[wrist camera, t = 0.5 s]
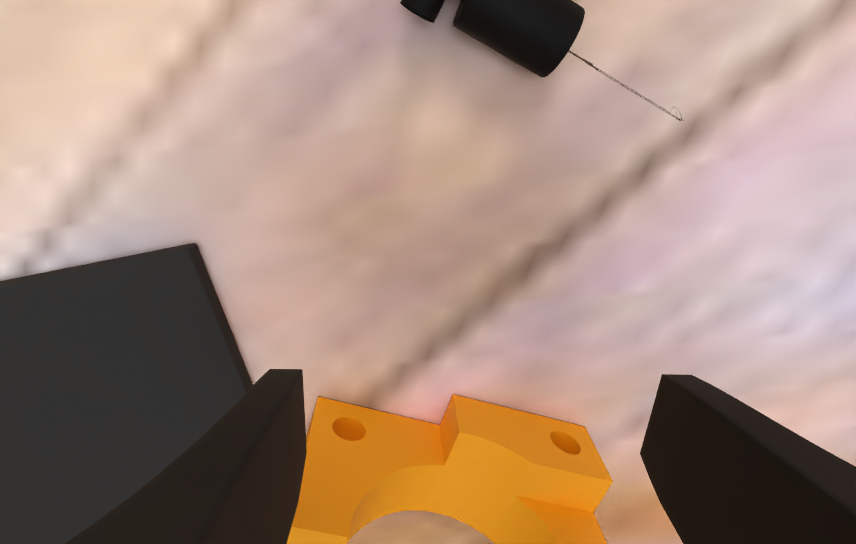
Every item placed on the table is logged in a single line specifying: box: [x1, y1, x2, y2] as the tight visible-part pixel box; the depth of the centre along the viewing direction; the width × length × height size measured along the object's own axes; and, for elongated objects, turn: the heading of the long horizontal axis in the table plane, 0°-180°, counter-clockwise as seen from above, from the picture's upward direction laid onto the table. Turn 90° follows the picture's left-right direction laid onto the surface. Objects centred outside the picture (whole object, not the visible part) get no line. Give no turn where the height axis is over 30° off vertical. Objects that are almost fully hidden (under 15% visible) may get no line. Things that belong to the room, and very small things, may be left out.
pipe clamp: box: [287, 394, 613, 544], centre depth 20 cm, size 12×4×6 cm, turn 71°
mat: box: [0, 243, 253, 544], centre depth 22 cm, size 20×14×1 cm
